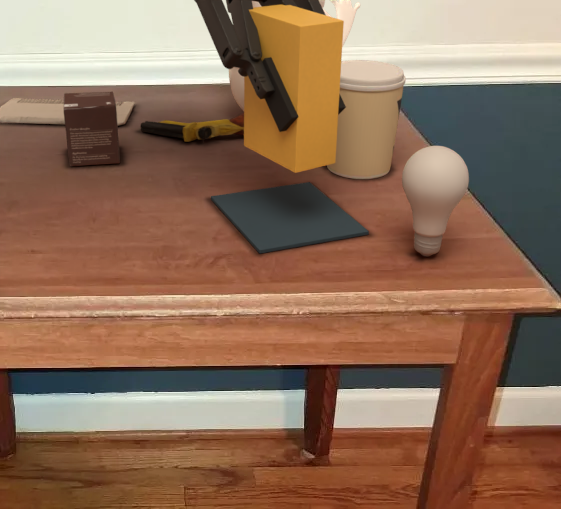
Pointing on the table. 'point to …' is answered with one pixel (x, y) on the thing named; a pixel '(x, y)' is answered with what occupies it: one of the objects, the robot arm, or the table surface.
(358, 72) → the coffee cup
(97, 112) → the box
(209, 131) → the toy gun
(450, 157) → the lightbulb
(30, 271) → the table surface
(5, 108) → the grooming comb
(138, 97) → the table surface
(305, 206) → the slate mat
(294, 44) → the cereal box
